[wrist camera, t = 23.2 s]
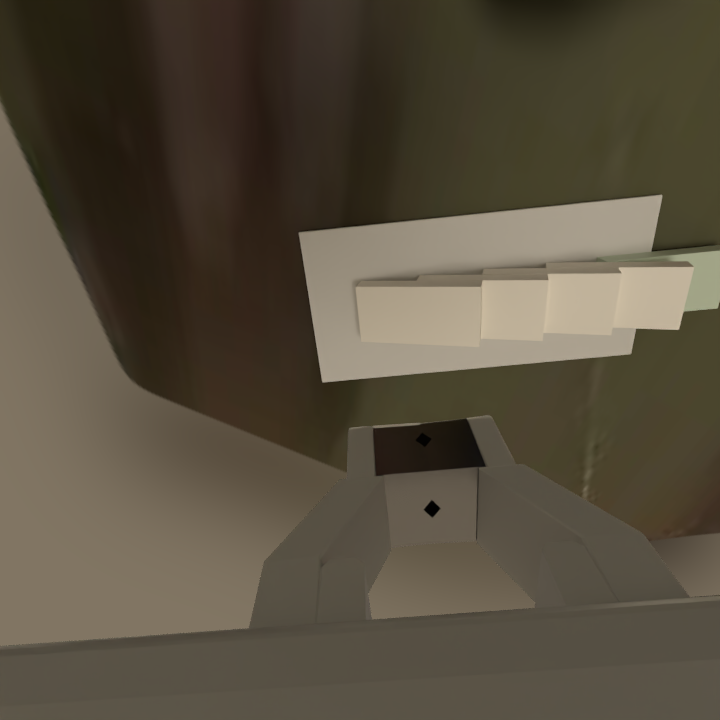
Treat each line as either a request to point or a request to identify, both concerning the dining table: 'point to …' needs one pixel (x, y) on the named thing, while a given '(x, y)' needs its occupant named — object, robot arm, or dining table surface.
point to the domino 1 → (420, 312)
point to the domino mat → (463, 257)
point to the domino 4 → (647, 292)
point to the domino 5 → (710, 276)
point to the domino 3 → (577, 298)
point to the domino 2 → (508, 304)
